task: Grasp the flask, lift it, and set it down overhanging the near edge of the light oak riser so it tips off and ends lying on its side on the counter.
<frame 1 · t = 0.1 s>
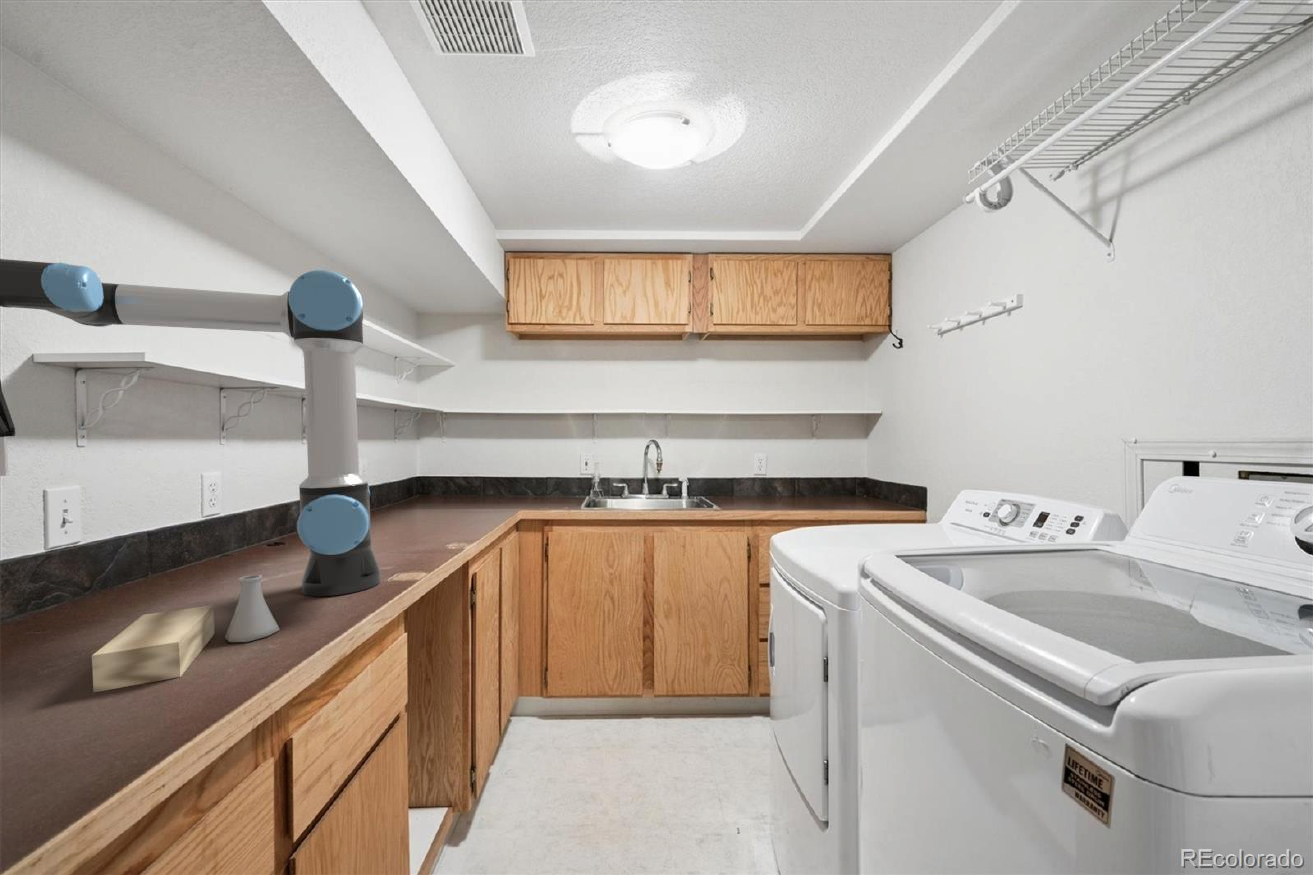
oak riser: (161, 659, 83), on the counter
flask: (252, 636, 92), on the counter
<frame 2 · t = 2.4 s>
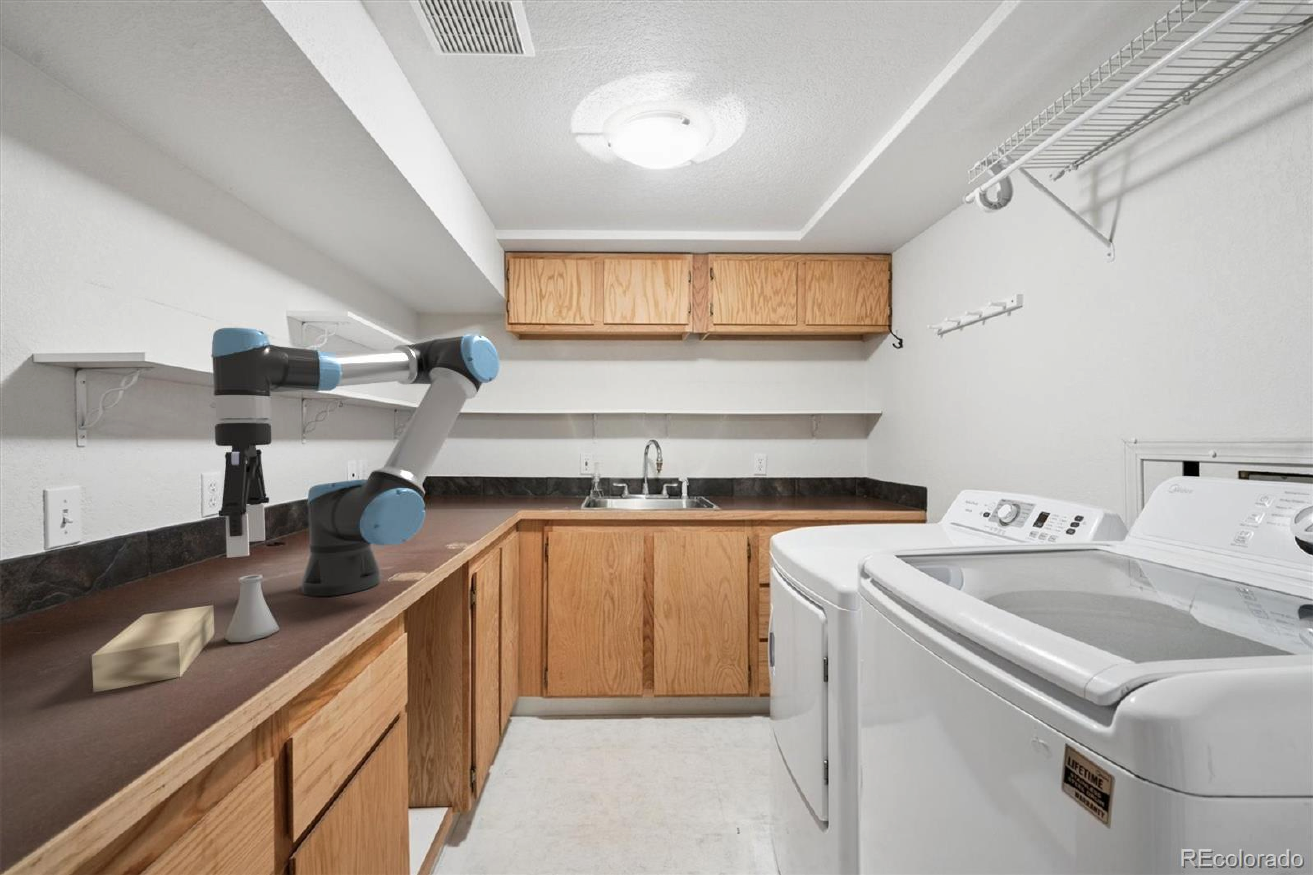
hand: (247, 548, 91), 15 cm above the counter, fingers open, 13 cm apart
nothing on the counter moved.
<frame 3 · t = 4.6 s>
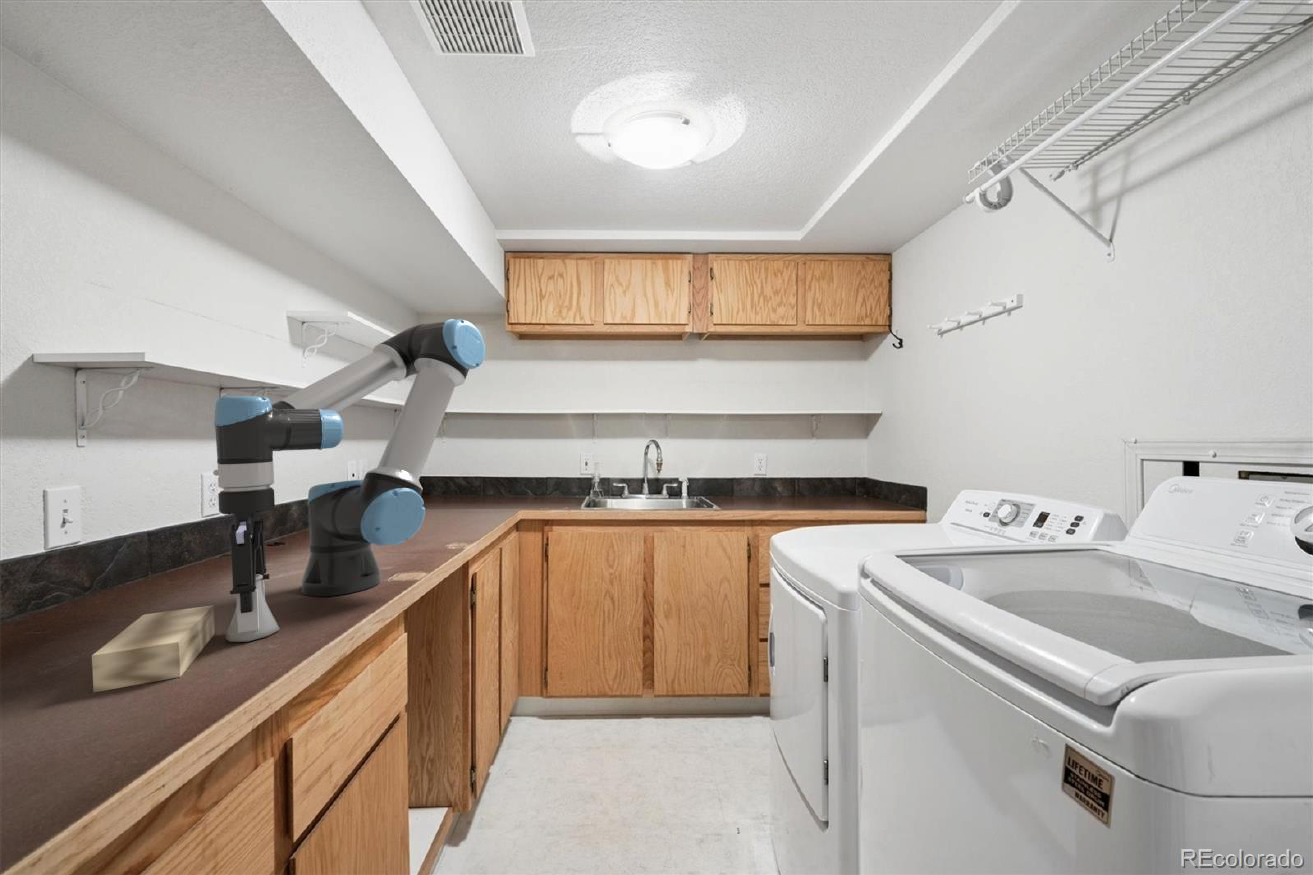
hand: (252, 624, 92), 2 cm above the counter, fingers closed on flask, 5 cm apart
flask: (252, 636, 92), on the counter, touching gripper
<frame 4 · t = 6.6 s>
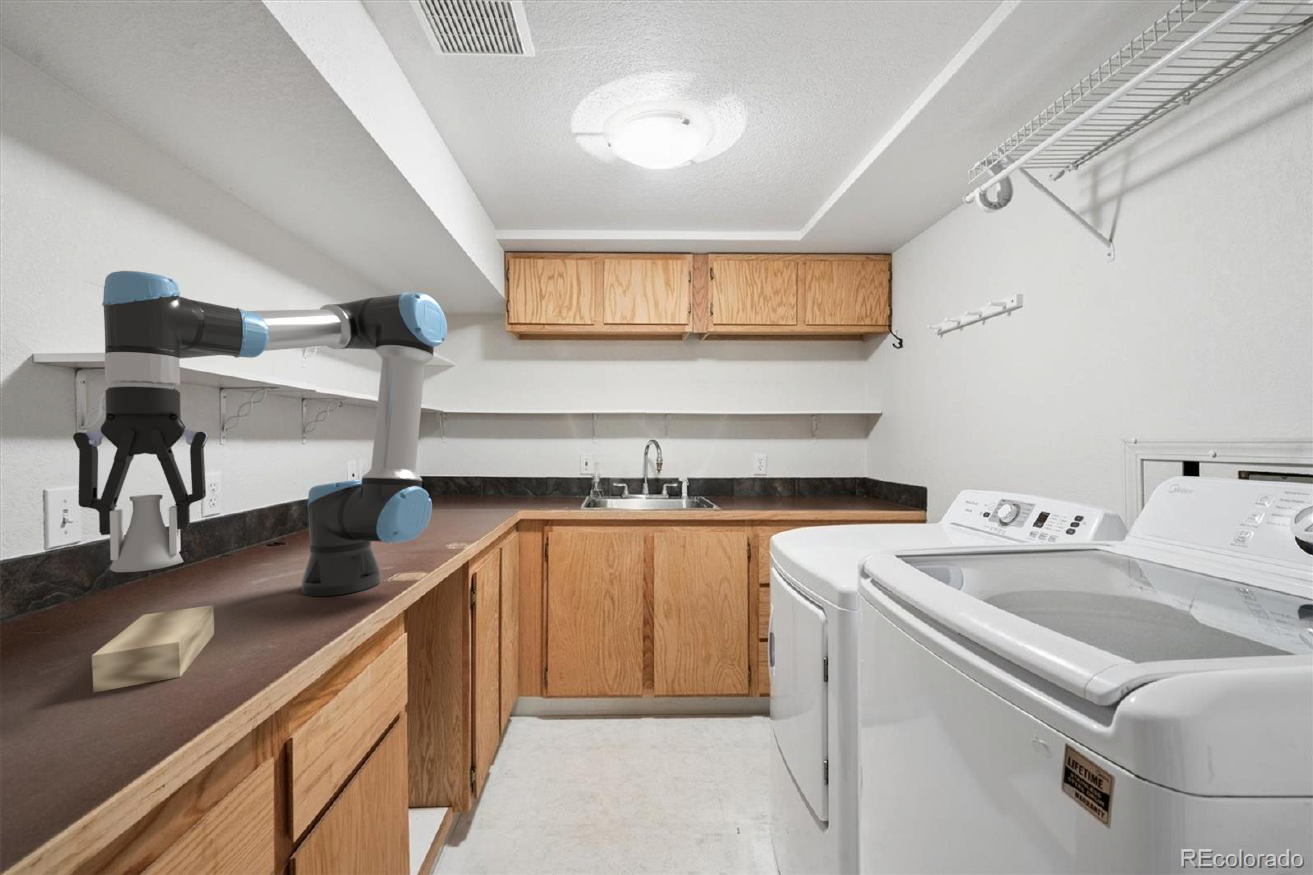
hand: (146, 555, 75), 18 cm above the counter, fingers closed on flask, 5 cm apart
flask: (147, 569, 75), point 16 cm above the counter, touching gripper
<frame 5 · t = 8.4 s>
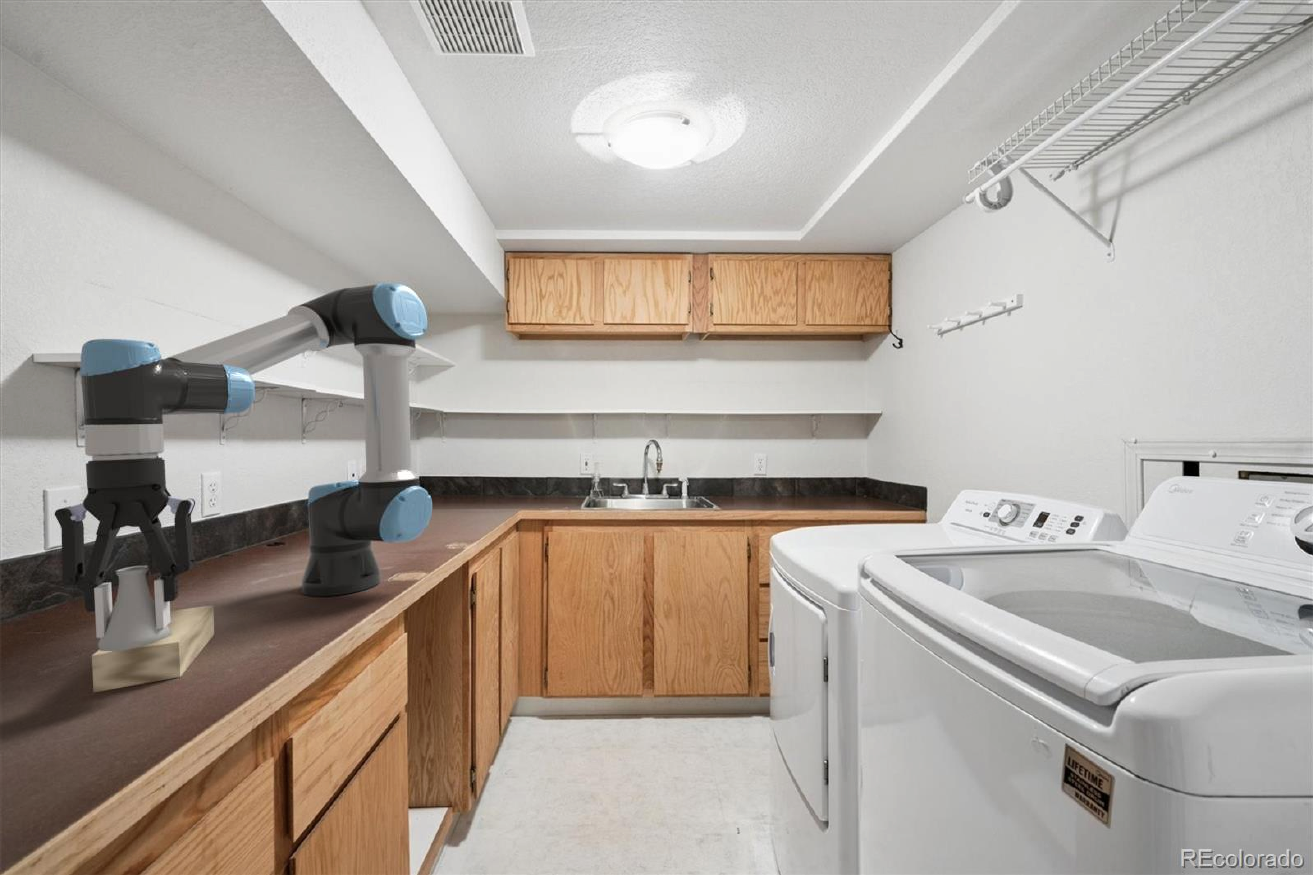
hand: (135, 629, 73), 8 cm above the counter, fingers closed on flask, 5 cm apart
flask: (135, 643, 73), point 6 cm above the counter, touching gripper
when the fingers open (8 cm above the counter, at t = 8.8 s): flask drops 3 cm, point 3 cm above the counter.
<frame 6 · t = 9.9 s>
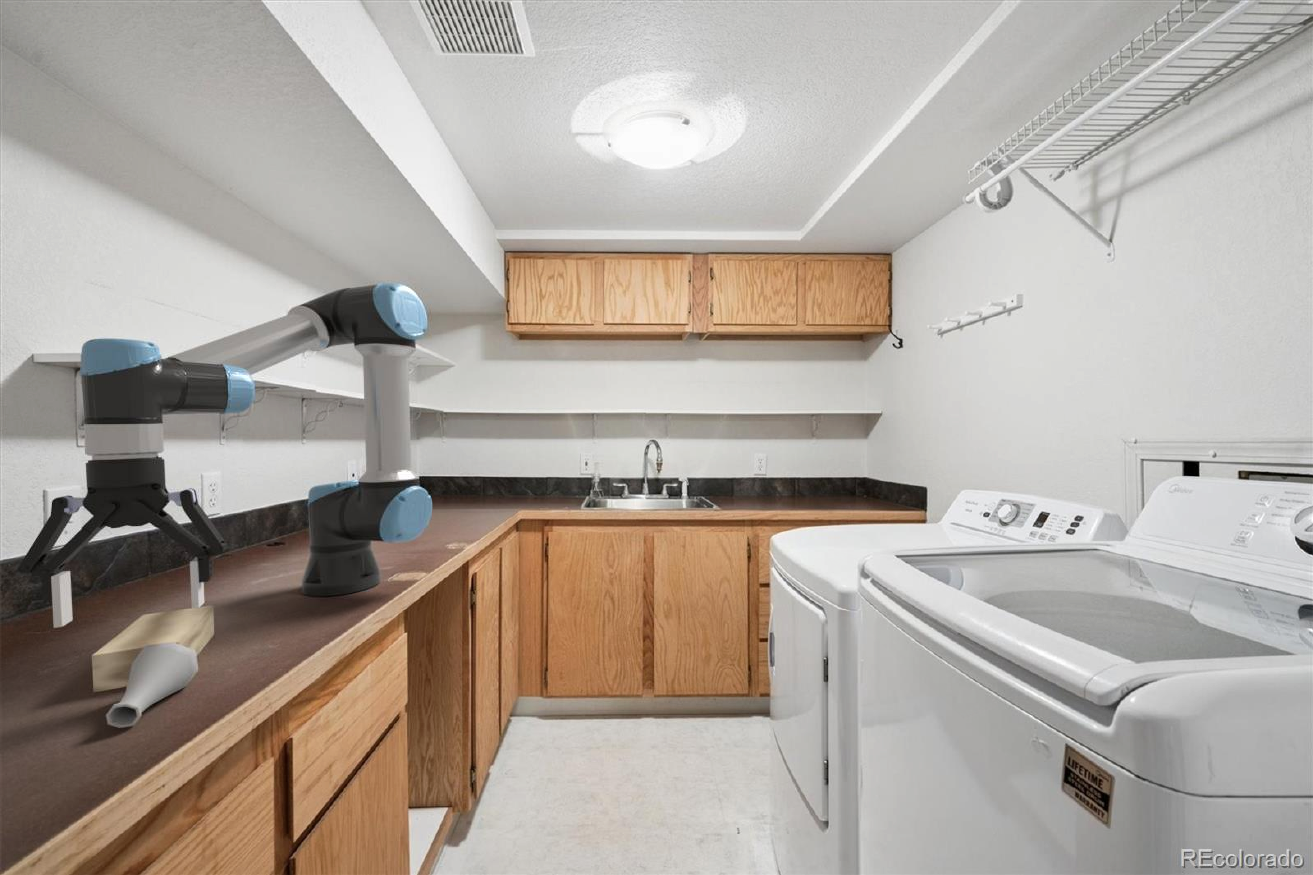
hand: (133, 614, 73), 10 cm above the counter, fingers open, 13 cm apart
flask: (167, 664, 73), point 3 cm above the counter
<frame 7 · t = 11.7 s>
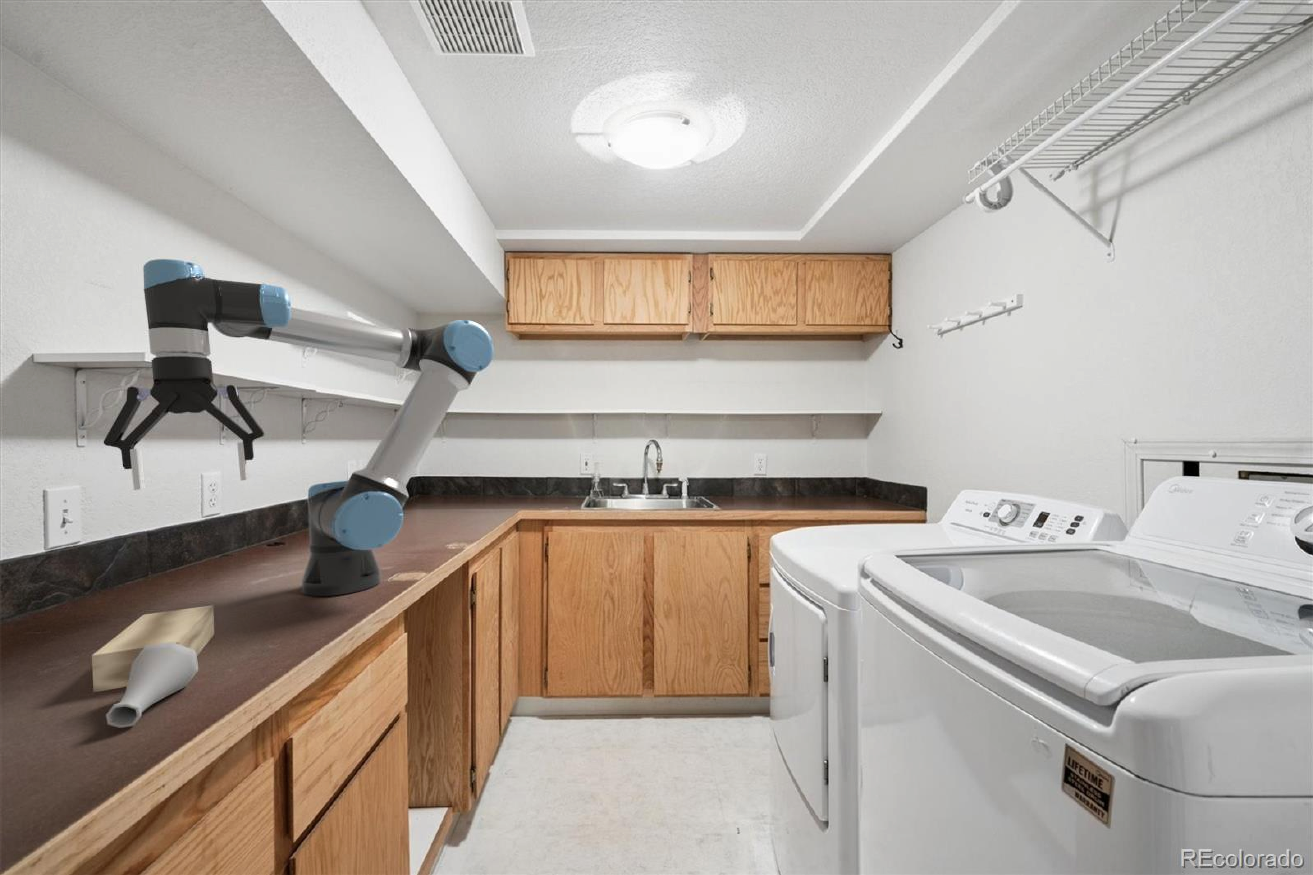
hand: (194, 484, 91), 26 cm above the counter, fingers open, 13 cm apart
nothing on the counter moved.
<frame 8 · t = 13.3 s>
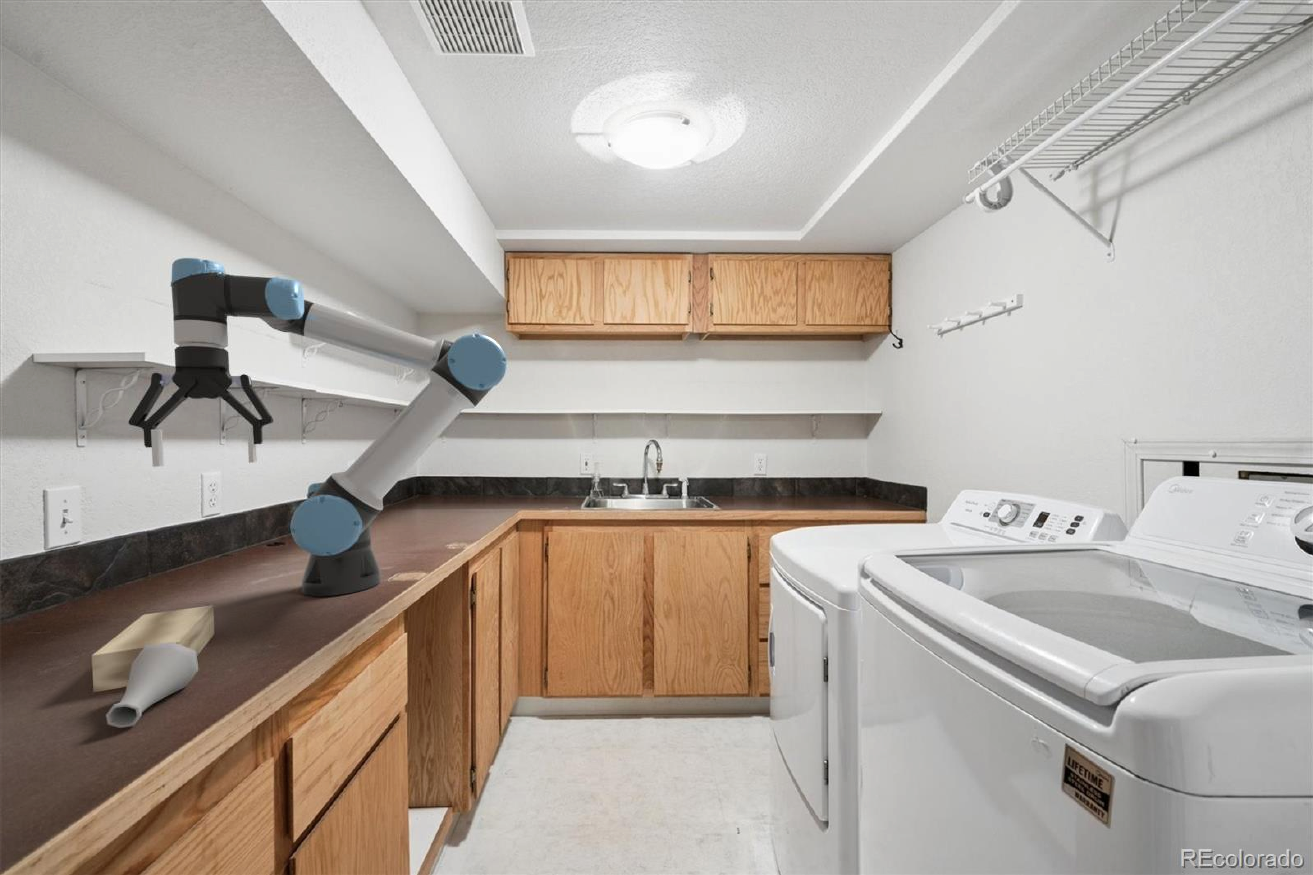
hand: (207, 464, 99), 29 cm above the counter, fingers open, 13 cm apart
nothing on the counter moved.
at the end: flask tilted 101°; flask inside the target area (5.8 cm from its centre), point 3.5 cm above the counter; the gripper is holding nothing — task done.
